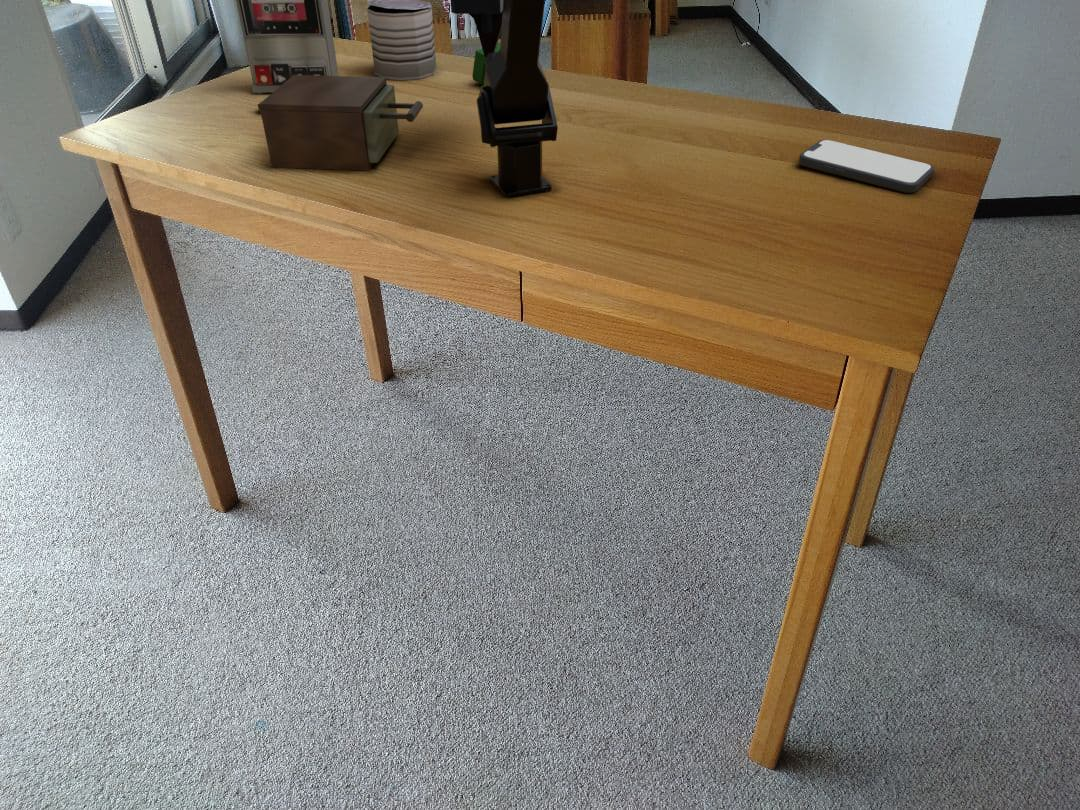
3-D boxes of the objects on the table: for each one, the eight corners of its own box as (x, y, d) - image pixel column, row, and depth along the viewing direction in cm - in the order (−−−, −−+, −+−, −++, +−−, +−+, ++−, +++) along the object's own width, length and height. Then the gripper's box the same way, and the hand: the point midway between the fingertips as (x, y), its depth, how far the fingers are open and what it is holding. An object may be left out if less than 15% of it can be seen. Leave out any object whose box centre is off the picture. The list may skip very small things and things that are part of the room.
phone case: (934, 176, 110) (820, 148, 118) (937, 165, 109) (823, 137, 117) (911, 197, 105) (794, 166, 113) (915, 185, 104) (796, 155, 112)
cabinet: (392, 136, 123) (386, 77, 118) (368, 170, 112) (360, 106, 107) (304, 134, 124) (293, 74, 119) (271, 167, 113) (258, 103, 108)
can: (371, 66, 154) (362, -5, 147) (431, 61, 156) (426, -9, 149) (378, 83, 145) (369, 8, 138) (442, 77, 148) (436, 4, 140)
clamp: (501, 112, 145) (495, 71, 137) (476, 98, 147) (468, 56, 139) (544, 72, 149) (541, 30, 141) (519, 59, 151) (514, 16, 143)
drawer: (431, 133, 122) (427, 85, 117) (412, 164, 112) (407, 113, 108) (316, 129, 123) (308, 82, 119) (288, 160, 113) (278, 109, 109)
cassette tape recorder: (252, 94, 140) (217, -75, 125) (261, 84, 145) (228, -80, 130) (335, 93, 140) (309, -76, 125) (340, 83, 145) (317, -81, 130)
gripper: (435, -84, 112) (444, 38, 122) (404, -64, 97) (416, 74, 107) (517, -83, 111) (519, 40, 121) (497, -62, 97) (501, 76, 106)
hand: (488, 56), depth 114 cm, fingers closed
